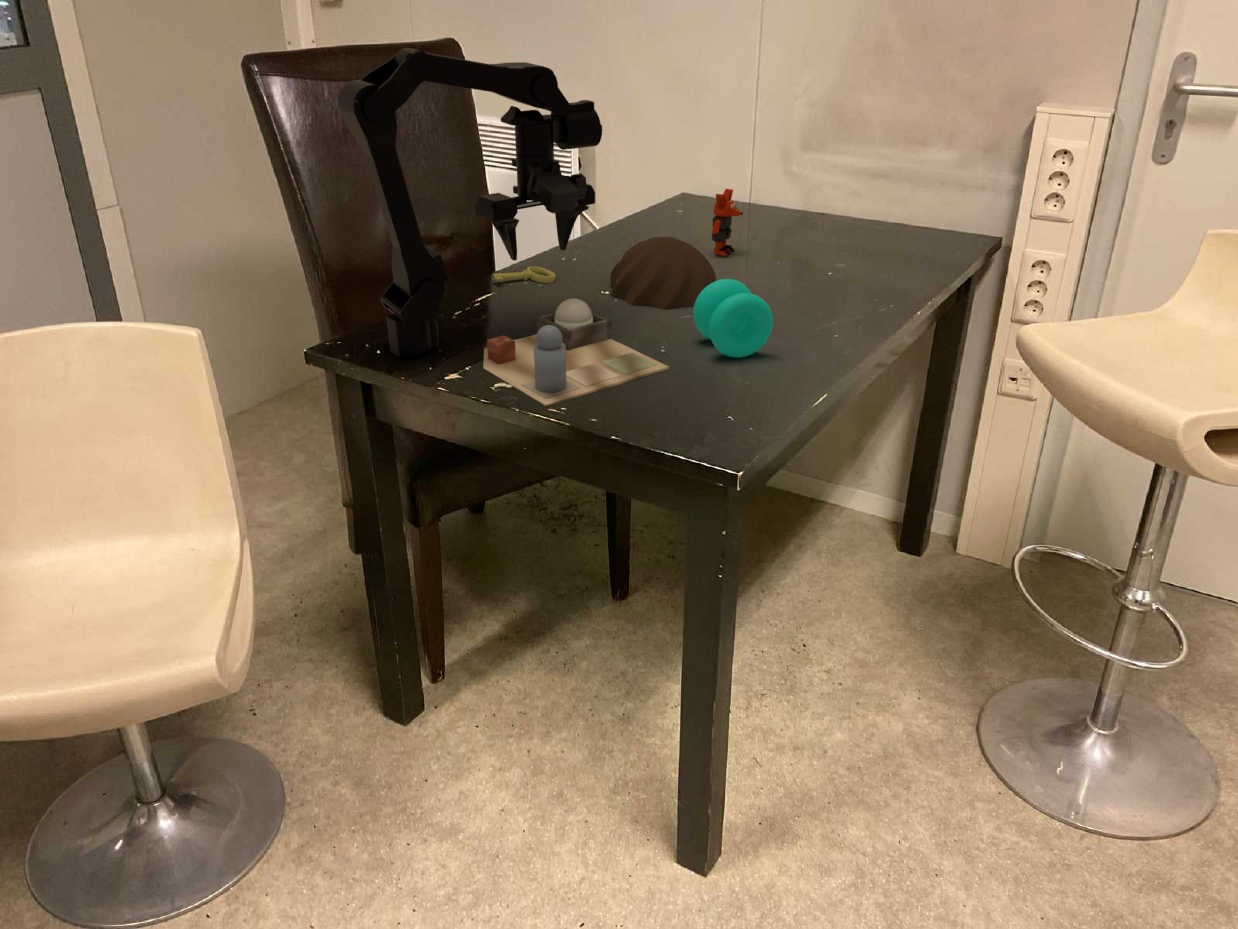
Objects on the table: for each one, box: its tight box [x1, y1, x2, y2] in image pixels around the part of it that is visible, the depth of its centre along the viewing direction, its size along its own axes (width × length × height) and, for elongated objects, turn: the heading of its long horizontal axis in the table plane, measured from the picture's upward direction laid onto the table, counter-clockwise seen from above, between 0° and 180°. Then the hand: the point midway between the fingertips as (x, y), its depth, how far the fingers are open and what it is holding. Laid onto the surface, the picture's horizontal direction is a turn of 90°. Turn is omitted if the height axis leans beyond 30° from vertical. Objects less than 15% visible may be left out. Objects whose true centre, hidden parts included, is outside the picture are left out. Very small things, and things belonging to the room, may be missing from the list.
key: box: [491, 266, 557, 284], centre depth 183 cm, size 7×12×2 cm, turn 138°
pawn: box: [534, 325, 567, 393], centre depth 139 cm, size 4×4×9 cm
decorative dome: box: [609, 236, 717, 311], centre depth 178 cm, size 19×20×10 cm
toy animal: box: [711, 188, 744, 256], centre depth 198 cm, size 8×6×12 cm
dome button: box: [555, 298, 593, 329], centre depth 157 cm, size 6×6×6 cm
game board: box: [483, 310, 670, 407], centre depth 150 cm, size 22×23×4 cm
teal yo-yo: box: [692, 278, 774, 358], centre depth 153 cm, size 10×10×10 cm
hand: (538, 254), depth 158 cm, fingers open, 9 cm apart
